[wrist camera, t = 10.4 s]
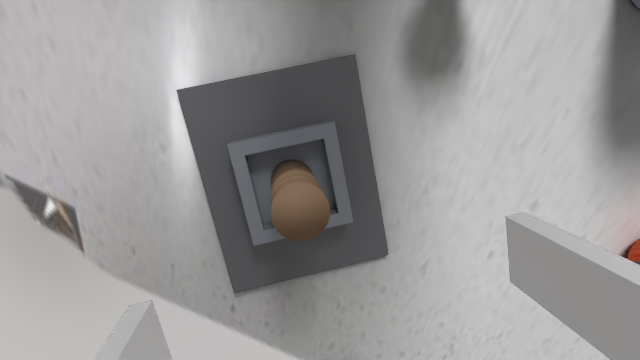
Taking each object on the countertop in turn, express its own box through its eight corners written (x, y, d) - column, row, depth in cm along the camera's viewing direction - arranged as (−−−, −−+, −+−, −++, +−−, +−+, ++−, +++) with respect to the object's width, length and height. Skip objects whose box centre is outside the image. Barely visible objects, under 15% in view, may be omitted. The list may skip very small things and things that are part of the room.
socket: (178, 90, 32) (169, 89, 30) (353, 55, 34) (361, 51, 31) (235, 290, 37) (232, 305, 34) (386, 252, 38) (395, 264, 36)
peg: (266, 165, 34) (264, 192, 24) (308, 155, 34) (323, 177, 24) (276, 205, 35) (278, 247, 25) (317, 195, 35) (335, 233, 25)
